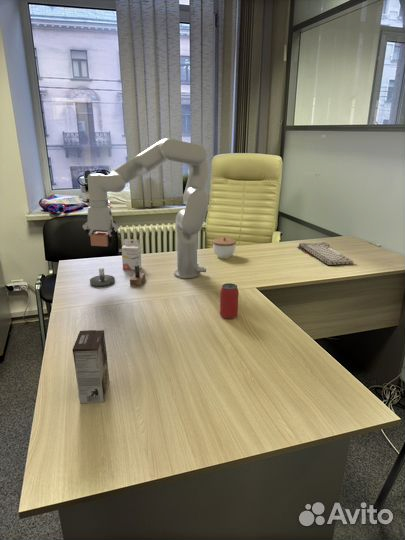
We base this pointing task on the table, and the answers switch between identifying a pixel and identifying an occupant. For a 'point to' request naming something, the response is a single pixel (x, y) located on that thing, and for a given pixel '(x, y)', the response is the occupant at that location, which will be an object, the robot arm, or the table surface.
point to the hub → (102, 279)
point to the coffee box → (91, 366)
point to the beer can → (229, 301)
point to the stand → (137, 277)
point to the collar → (99, 239)
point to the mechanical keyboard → (324, 254)
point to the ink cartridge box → (131, 254)
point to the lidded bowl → (224, 247)
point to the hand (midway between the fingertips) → (101, 243)
